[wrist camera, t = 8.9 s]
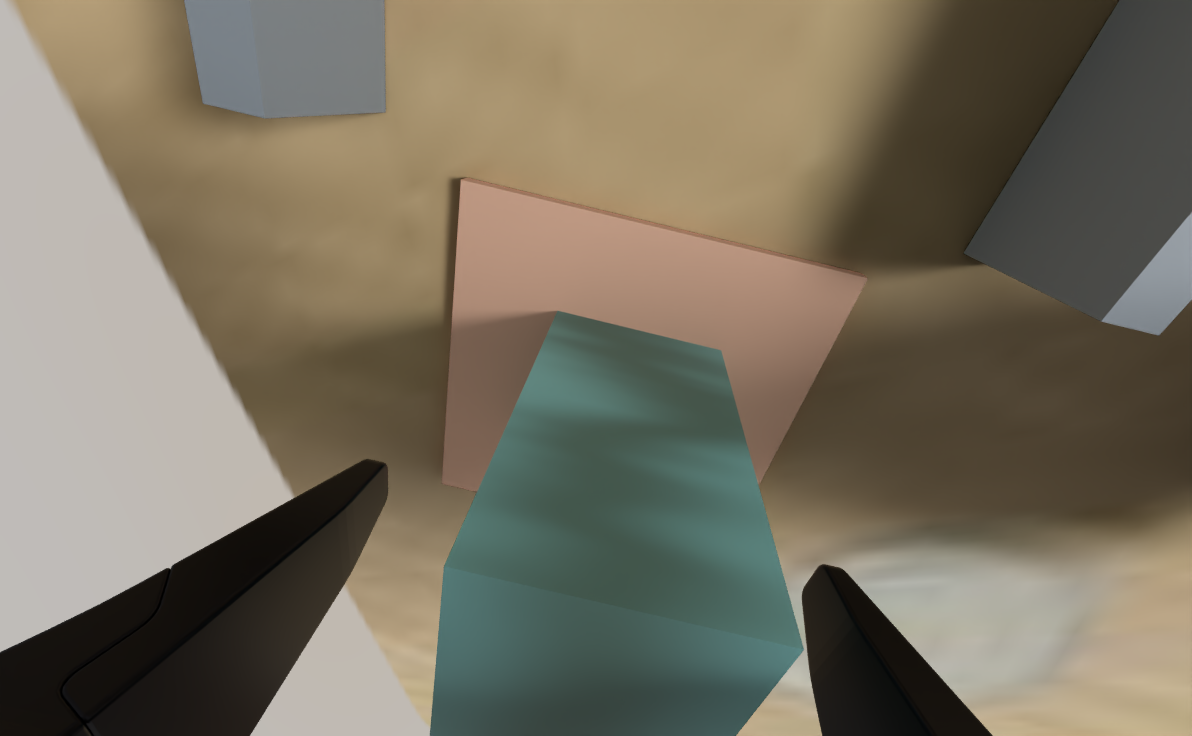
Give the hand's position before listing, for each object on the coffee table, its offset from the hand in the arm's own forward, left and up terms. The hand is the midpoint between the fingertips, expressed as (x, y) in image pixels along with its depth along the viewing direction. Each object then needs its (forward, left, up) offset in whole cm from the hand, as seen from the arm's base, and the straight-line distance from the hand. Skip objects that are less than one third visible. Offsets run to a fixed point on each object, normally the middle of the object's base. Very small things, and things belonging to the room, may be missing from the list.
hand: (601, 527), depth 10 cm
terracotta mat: (0, 0, -5) cm, 5 cm away
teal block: (0, 0, -5) cm, 5 cm away
